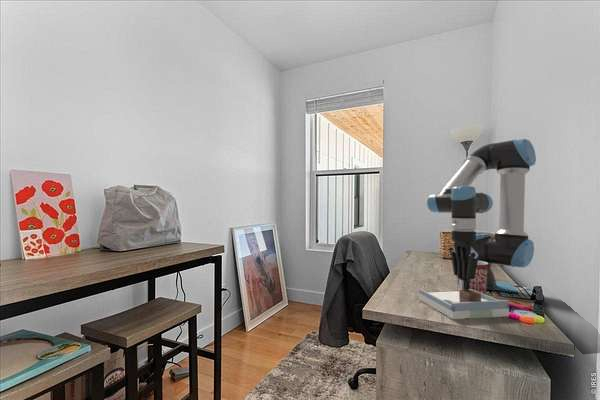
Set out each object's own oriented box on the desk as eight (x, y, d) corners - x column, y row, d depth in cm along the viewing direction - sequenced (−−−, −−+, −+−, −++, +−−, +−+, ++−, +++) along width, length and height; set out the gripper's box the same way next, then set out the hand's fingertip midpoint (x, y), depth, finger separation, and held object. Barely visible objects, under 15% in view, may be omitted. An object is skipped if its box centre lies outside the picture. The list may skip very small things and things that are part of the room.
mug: (491, 300, 112) (490, 264, 112) (464, 297, 115) (463, 263, 116) (484, 291, 123) (484, 259, 124) (460, 289, 127) (460, 257, 127)
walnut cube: (471, 302, 102) (471, 289, 102) (481, 307, 97) (480, 293, 97) (459, 303, 101) (459, 290, 101) (468, 307, 97) (468, 294, 97)
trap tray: (466, 297, 116) (466, 284, 116) (509, 316, 96) (508, 300, 96) (419, 299, 113) (419, 286, 113) (452, 319, 93) (452, 303, 93)
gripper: (442, 229, 109) (442, 292, 108) (466, 232, 96) (467, 304, 95) (460, 228, 110) (461, 292, 109) (487, 231, 97) (488, 303, 96)
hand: (464, 297), depth 102 cm, fingers closed
